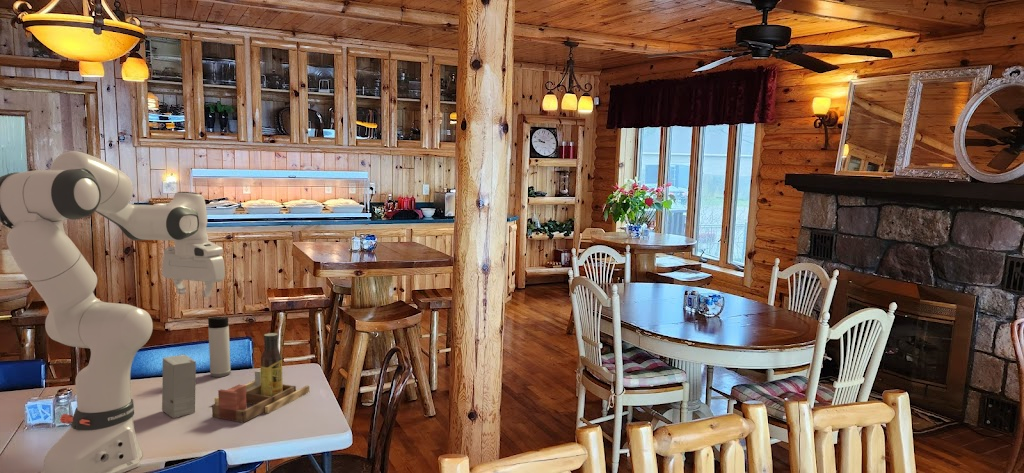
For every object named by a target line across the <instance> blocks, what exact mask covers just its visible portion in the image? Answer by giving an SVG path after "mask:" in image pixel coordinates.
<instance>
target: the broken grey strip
mask: <svg viewBox="0 0 1024 473" xmlns="http://www.w3.org/2000/svg"><path fill="white" fill-rule="evenodd" d="M254 380H255V386H253V387H250V388H248V389H246V391H247V390H250V389H252V388H254V387H256V386H258V385H261V368H260V369H259V368H258V369H257V370H255V371H254Z"/></svg>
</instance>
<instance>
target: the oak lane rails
mask: <svg viewBox="0 0 1024 473" xmlns="http://www.w3.org/2000/svg"><path fill="white" fill-rule="evenodd" d="M244 385H245V386H246V389H248V388H250V387H253V386H255V379H254V380H253V381H250V382H248V383H246V384H244ZM308 392H309V393H310V385H305V386H303V387H301V388H299V389H296V391H295V392H293V393H291V394H289V395H287V396H285V397H283V398H281V399H279V400H277V401H275V402H273V403H271V404H269V405H267V406H265V412H264V414H270V413H272V412H274V411H276V410H278V409H280V408H281V407H284V406H286V405H287V404H290V403H291V402H293V401H295V400H297V399H298V398H301V397H303V396H305V395H307V394H309V393H308ZM306 393H307V394H306ZM302 395H303V396H302ZM216 404H219V395H218V396H215V397H214V405H216Z"/></svg>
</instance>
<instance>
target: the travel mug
mask: <svg viewBox="0 0 1024 473" xmlns="http://www.w3.org/2000/svg"><path fill="white" fill-rule="evenodd" d="M207 323H208V327H207V328H208V330H207V331H208V346H209V347H208V349H209V350H208V351H209V370H210V371H209V372H210V377H213V378H223V377H227V376H229V375H230V374H231V373H232V372H231V370H232V369H231V350H230V348H231V346H230V326H229V325H230V324H229V317H227V316H226V317H221V316H215V317H214V316H212V317H208V318H207Z"/></svg>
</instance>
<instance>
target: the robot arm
mask: <svg viewBox="0 0 1024 473" xmlns="http://www.w3.org/2000/svg"><path fill="white" fill-rule="evenodd" d="M133 194H134V185H133V182H132V179H131V178H130V177H129V176H128V175H127V174H126V173H125V172H123V171H122V170H121V169H119V168H117V167H116V166H114V165H112V164H110V163H109V162H107V161H104V160H103V159H101V158H98V157H96V156H94V155H91V154H89V153H85V152H82V151H78V150H70V151H65V152H63V153H60V154H59V155H58V156H56V157H55V159H54V160H53V161H52V163H51V166H50V169H49V170H48V169H47V170H46V169H39V170H38V169H36V170H28V171H22V172H18V171H17V172H16V171H15V172H10V173H7V174H4V175H1V176H0V223H1V224H2V225H4V226H5V227H6V228H9V229H10V231H9V232H8V233H7V235H6V245H7V247H8V249H9V252H10V253H11V254H10V255H12V258H13V259H14V261H15V263H16V265H17V266H18V268H19V269H20V271H21V272H22V274H23V275H24V277H25V278H26V279H27V280H28V281H29V283H30V284H31V285H32V287H33V288H34V289H35V291H36V292H37V293H38V294H39V295H40V297H41V298H42V300H43V301H44V303H45V304H46V307H47V309H48V313H47V315H46V317H45V322H44V325H45V332H46V334H47V336H48V337H49V338H50V339H51V340H53V341H55V342H58V343H60V344H62V345H65V346H69V347H73V348H83V349H90V356H89V357H90V358H89V362H88V365H87V366H84V367H83V368H82V369H81V370H80V371H78V373H77V374H76V377H75V380H74V381H75V393H76V394H75V395H76V408H75V411H74V412H73V415H72V414H67V413H63V414H62V415H61V416H60V418H59V421H60V423H61V424H62V423H63V424H65V425H66V424H67V425H68V424H69V425H70V427H69V429H68V430H66V432H65V433H63V435H62V436H61V437H60V438H59V439H58V440H57V441H56V442H55V443H54V444H53V445H52V446H51V448H49V450H48V451H47V452H46V454H45V456H44V461H43V462H44V463H43V470H42V471H40V472H39V473H126V472H128V471H131V470H134V469H136V468H138V467H140V465H141V462H140V461H141V460H140V459H141V458H142V456H143V451H142V450H141V448H140V445H139V441H138V438H137V435H136V434H137V433H136V429H135V423H134V418H133V417H134V415H135V405H134V399H133V398H132V392H131V391H132V388H131V370H132V366H133V365H132V364H133V362H134V359H135V356H136V354H137V353H138V351H139V350H140V349H141V348H143V347H144V345H146V343H148V341H149V339H150V338H151V336H152V333H153V326H154V324H153V319H152V317H151V315H150V313H149V312H148V311H146V310H145V309H143V308H140V307H137V306H135V305H131V304H127V303H118V302H116V303H115V302H106V301H102V300H100V299H99V298H97V297H96V295H95V293H94V292H95V289H96V287H97V285H98V276H97V274H96V272H94V270H93V268H92V267H91V265H90V264H89V262H88V261H87V259H86V258H85V256H84V255H83V254H82V253H81V251H80V250H79V248H78V247H77V246H76V244H75V243H74V241H72V239H71V238H70V237H69V236H68V235H67V234H66V232H65V229H64V225H63V224H64V223H63V221H66V220H80V219H83V218H86V217H89V216H91V215H93V214H94V213H97V214H98V215H100V216H102V217H103V218H104V219H107V220H108V221H110V222H111V223H113V224H115V225H116V226H117V227H118V228H119V229H120V230H121V231H122V233H123V234H124V235H125V236H126V237H127V238H129V239H130V240H132V241H174V243H173V244H174V245H173V246H167V247H166V248H165V249H164V250H163V257H162V264H161V265H162V267H161V270H162V271H161V273H162V276H163V278H164V279H171V280H172V279H173V280H172V282H173V284H174V286H175V288H176V293H177V295H185V294H186V293H187V292H186V291H187V290H186V287H184V285H183V283H182V282H183V281H186V280H187V281H193V282H195V281H196V282H203V283H204V286H205V289H204V290H202V291H201V292H202V297H203V298H204V297H205V298H210V297H211V296H212V289H213V288H214V285H215V283H219V282H223V281H224V280H225V277H226V269H225V267H226V266H225V261H224V258H223V256H222V255H223V254H224V248H223V247H222V246H220V245H218V244H216V243H214V242H212V241H210V240H209V235H208V232H207V226H208V211H207V205H206V200H205V197H204V195H202V194H201V193H197V192H193V191H177V192H175V193H174V195H173V199H172V200H171V201H170V202H167V203H166V204H165V205H161V204H160V205H158V204H140V203H131V201H132V198H133Z"/></svg>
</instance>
